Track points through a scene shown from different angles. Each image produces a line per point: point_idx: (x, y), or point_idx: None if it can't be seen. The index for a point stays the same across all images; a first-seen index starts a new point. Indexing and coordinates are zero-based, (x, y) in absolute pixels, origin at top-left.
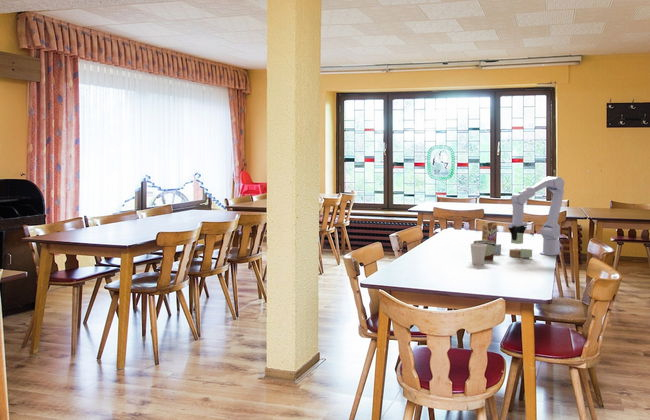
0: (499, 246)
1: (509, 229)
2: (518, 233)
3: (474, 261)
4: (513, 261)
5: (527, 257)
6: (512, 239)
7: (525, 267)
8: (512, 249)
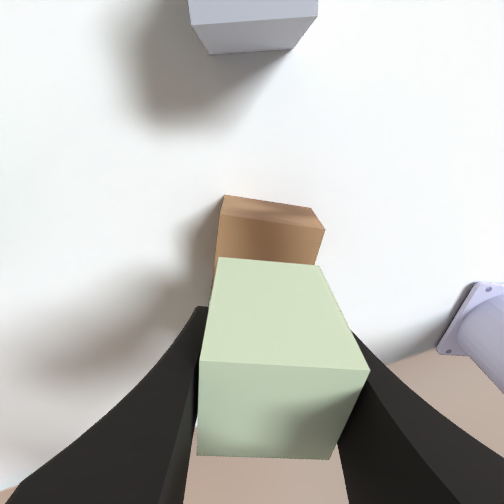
0: (266, 28)
1: (55, 470)
2: (269, 432)
3: None
4: (69, 319)
5: None
6: (193, 313)
7: (2, 416)
8: (240, 232)
